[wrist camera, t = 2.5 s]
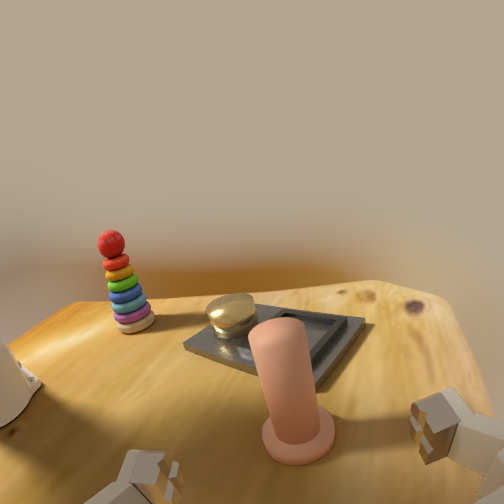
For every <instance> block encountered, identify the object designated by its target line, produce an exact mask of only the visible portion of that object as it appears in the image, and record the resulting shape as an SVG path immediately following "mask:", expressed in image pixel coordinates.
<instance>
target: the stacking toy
mask: <svg viewBox="0 0 504 504" xmlns="http://www.w3.org/2000/svg"><path fill="white" fill-rule="evenodd" d="M124 246H125V243H124V238H123V236H122V235H121V234H120V233H119V232H117V231H113V230H110V231H106V232H104V233H103V234H102V235H101V236H100V238H99V240H98V248H99V251H100V253H101V254H102V255H103V256H104V257H106V258H107V259H105V260H104V263H103V266H104V268H105V269H106V270H108V271H107V272H106V278H107V280H109V283H108V288H109V290H110V291H111V292H110V295H109V297H110V300H111V301H112V309H113V311H114V318H115V320H116V321H117V324H116V326H117V329H118V330H119V331H120V332H122V333H135V332H138V331H141V330H143V329H145V328H147V327H148V326H150V325H151V324H152V323H153V321H154V319H155V315H154V312H153V311H152V310H151V306H150V304H149V302H147V301H146V296H145V294H144V293H143V292H142V288H141V285H140V284H139V283H137V282H138V277H137V275H136V274H134V273H133V270H134V269H133V267H132V265H130V264H128V263H129V257H128V255H126V254H121V253H122V252H123V250H124Z"/></svg>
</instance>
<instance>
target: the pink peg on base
mask: <svg viewBox="0 0 504 504" xmlns="http://www.w3.org/2000/svg"><path fill="white" fill-rule="evenodd" d="M248 340H249V343H250V347H251V351H252V354H253V358H254V361H255V365H256V369H257V372H258V376H259V379H260V383H261V386H262V390H263V393H264V397H265V400H266V404H267V407H268V411H269V414H270V417H269V418H268V419H267V420H266V422H265V423H264V425H263V428H262V439H263V442H264V445H265V448H266V450H267V453H268V454H269V455H270V456H271V457H272V458H273V459H274V460H275V461H277V462H279V463H282V464H286V465H304V464H309V463H312V462H314V461H316V460H318V459H320V458H321V457H323V456H324V455H325V454H326V453H327V452H328V451H329V450H330V449H331V447H332V446H333V443H334V440H335V427H334V420H333V417H332V416H331V414H330V413H329V412H328V411H327V410H326V409H324V408H322V407H320V406H318V405H317V398H316V391H315V385H314V378H313V372H312V366H311V360H310V353H309V347H308V341H307V336H306V330H305V325H304V323H303V322H302V321H300V320H298V319H296V318H290V317H281V318H274V319H270V320H267V321H265V322H262V323H260V324H258V325H257V326H255V327H254V328H253V329H252V330H251V331H250V333H249V335H248Z"/></svg>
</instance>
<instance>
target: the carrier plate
mask: <svg viewBox="0 0 504 504" xmlns="http://www.w3.org/2000/svg"><path fill="white" fill-rule="evenodd" d="M206 311H207V315H208V318H209V321H210V325H209V326H207V327H206V328H205V329H203V330H202V331H200V332H199V333H197V334H196V335H194V336H192V337H191V338H189V339H188V340H186V341H185V342H183V345H184V348H185V350H187V351H190V352H192V353H195V354H198V355H200V356H203V357H205V358H208V359H211V360H213V361H216V362H219V363H221V364H224V365H227V366H230V367H233V368H235V369H238V370H241V371H244V372H247V373H250V374H253V375H256V376H258V372H257V369H256V365H255V361H254V358H253V354H252V351H251V347H250V343H249V340H248V335H249V333H250V331H251V330H252V329H253V328H254V327H255V326H257V325H258V324H260V323H262V322H265V321H267V320H270V319H274V318H281V317H290V318H296V319H298V320H300V321H302V322H303V323H304V325H305V330H306V336H307V341H308V347H309V353H310V360H311V366H312V372H313V378H314V385H315V391H317V390H318V389H319V388H320V386H321V385H322V384H323V383H324V381H325V380H326V379H327V378H328V376H329V375H330V374H331V372H332V371H333V370H334V369H335V367H336V366H337V365H338V363H339V362H340V361H341V359H342V358H343V357H344V355H345V354H346V352H347V351H348V350H349V348H350V347H351V346H352V344H353V343H354V341H355V340H356V339H357V337H358V336H359V334H360V333H361V331H362V330H363V329H364V327H365V326H366V325H365V318H361V317H352V316H343V315H335V314H326V313H318V312H311V311H303V310H296V309H288V308H281V307H274V306H268V305H261V304H254V300H253V297H252V296H251V295H249V294H246V293H235V294H229V295H225V296H222V297H220V298H217V299H215V300H214V301H212V302H211V303H210V304H209V305H208V306H207V307H206Z"/></svg>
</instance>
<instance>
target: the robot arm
mask: <svg viewBox="0 0 504 504" xmlns="http://www.w3.org/2000/svg"><path fill="white" fill-rule="evenodd" d="M40 386H41V382H40V380H39V379H38V378H37V377H36V376H35V375H34V374H33V373H31V372H30V371H29V370H28V369H27V368H26V367H25V366H23V365H22V364H21V363H20V362H19V361H16V359H15V357H14V355H13V353H12V352H11V350H10V348H9V346H6V345H5V344H4V343H1V342H0V427H2V426H4V425H6V424H7V423H9V422H10V421H12V420H13V419H14V418H15V417H17V416H18V415H19V414H20V413H21V412H22V411H23V409H24V408H25V407H26V406H27V404H28V402H29V401H30V398H31V396H32V395H33V393H34V392H35V391H36V390H37V389H38V388H39V387H40ZM411 412H412V414H413V416H412V417H411V418H410V420H409V429H410V434H411V437H412V439H413V441H414V443H415V444H418V445H420V449H419V453H420V455H421V457H422V459H423V461H424V463H425V465H427V464H430V463H432V462H435V461H437V460H440V459H442V458H444V457H447V456H448V458H450V459H452V460H453V461H455V462H457V463H459V464H461V465H463V466H464V467H466V468H468V469H470V470H472V471H474V472H476V473H478V474H480V475H481V476H483V477H485V478H484V479H483V481H482V483H481V484H480V486H479V488H478V490H477V494H478V496H479V497H480V500H478V501H476V502H474V503H473V504H504V421H501V420H498V419H495V418H492V417H489V416H485V415H482V414H479V413H478V414H476V415H475V414H474V413H473V412H472V410H471V409H470V408H469V407H468V405H467V404H466V403H465V401H464V400H463V399H462V398H461V396H460V395H459V394H458V393H457V391H456V390H455V389H454V388H453V387H450V388H447V389H445V390H443V391H440V392H438V393H435V394H433V395H431V396H428V397H426V398H423V399H421V400H418V401H416V402H413V403H412V405H411ZM173 459H174V455H173V454H172V452H171V451H169V450H134V449H130V450H129V451H128V452H127V454H126V457H125V459H124V462H123V464H122V467H121V470H120V472H119V475H118V477H117V480H116V482H111V483H110V484H109V485H107V486H106V487H105V488H104V489H102V490H101V491H100V492H98V493H97V494H96V495H94V496H93V497H91V498H90V499H89V500H87V501H86V502H85V503H83V504H180V500H181V495H180V493H179V492H178V491H179V490H180V489H181V488H182V487H183V484H184V472H183V470H182V467H181V466H180V464H179V463H177V462H176V461H174V460H173Z"/></svg>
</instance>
